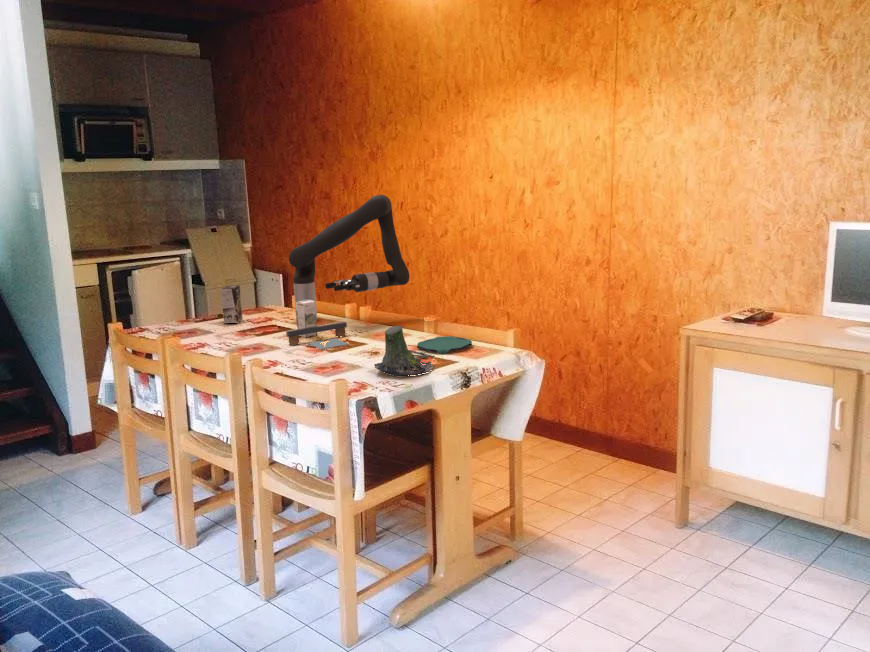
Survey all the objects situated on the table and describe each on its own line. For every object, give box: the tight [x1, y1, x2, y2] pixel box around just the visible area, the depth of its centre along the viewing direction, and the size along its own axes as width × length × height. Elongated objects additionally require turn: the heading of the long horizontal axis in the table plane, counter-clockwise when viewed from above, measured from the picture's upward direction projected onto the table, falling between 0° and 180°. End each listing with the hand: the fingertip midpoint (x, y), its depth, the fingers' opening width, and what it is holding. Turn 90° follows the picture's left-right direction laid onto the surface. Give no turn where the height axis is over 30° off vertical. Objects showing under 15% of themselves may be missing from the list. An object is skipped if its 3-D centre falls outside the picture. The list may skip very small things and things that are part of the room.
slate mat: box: [307, 337, 350, 350], centre depth 291 cm, size 12×12×1 cm
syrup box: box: [295, 300, 318, 338], centre depth 306 cm, size 6×6×14 cm
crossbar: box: [285, 321, 348, 338], centre depth 299 cm, size 2×25×2 cm, turn 122°
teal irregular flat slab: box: [408, 335, 473, 362], centre depth 277 cm, size 20×30×2 cm, turn 132°
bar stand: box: [288, 328, 347, 345], centre depth 299 cm, size 3×23×4 cm, turn 123°
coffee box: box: [220, 285, 244, 324], centre depth 339 cm, size 9×6×16 cm
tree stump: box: [374, 325, 435, 377], centre depth 250 cm, size 18×20×18 cm
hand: (329, 287), depth 310 cm, fingers open, 8 cm apart
